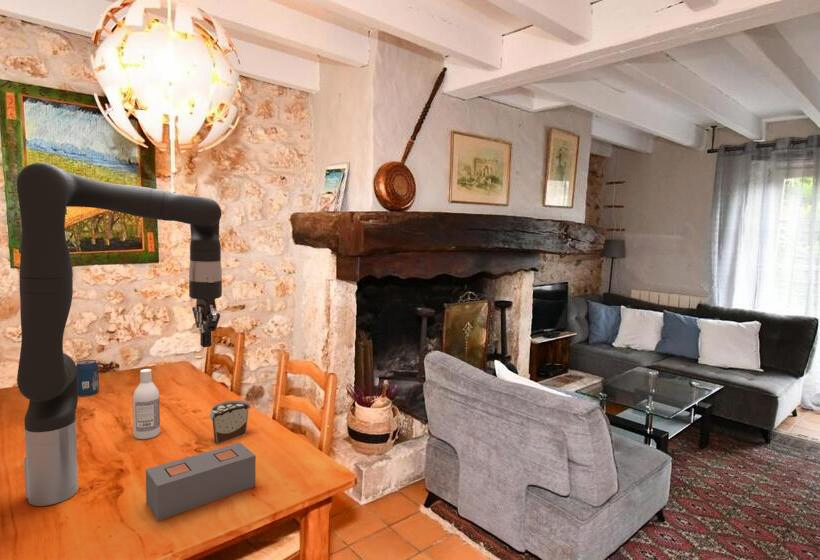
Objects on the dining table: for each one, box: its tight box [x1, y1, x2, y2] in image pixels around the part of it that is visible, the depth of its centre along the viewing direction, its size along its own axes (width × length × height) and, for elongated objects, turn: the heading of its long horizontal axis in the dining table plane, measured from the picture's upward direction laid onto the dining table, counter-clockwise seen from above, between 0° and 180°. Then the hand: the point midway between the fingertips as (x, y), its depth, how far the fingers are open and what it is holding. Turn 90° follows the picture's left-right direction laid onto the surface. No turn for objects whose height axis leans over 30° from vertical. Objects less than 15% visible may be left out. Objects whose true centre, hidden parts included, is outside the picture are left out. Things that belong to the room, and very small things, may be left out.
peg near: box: [166, 464, 190, 477], centre depth 108 cm, size 4×4×8 cm
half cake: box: [209, 400, 251, 445], centre depth 142 cm, size 12×6×10 cm, turn 141°
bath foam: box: [132, 368, 161, 440], centre depth 140 cm, size 7×7×20 cm
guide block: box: [145, 442, 257, 522], centre depth 112 cm, size 22×9×8 cm, turn 133°
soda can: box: [76, 359, 100, 397], centre depth 171 cm, size 7×7×12 cm
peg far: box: [215, 450, 237, 462], centre depth 115 cm, size 4×4×8 cm
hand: (206, 346), depth 119 cm, fingers closed
